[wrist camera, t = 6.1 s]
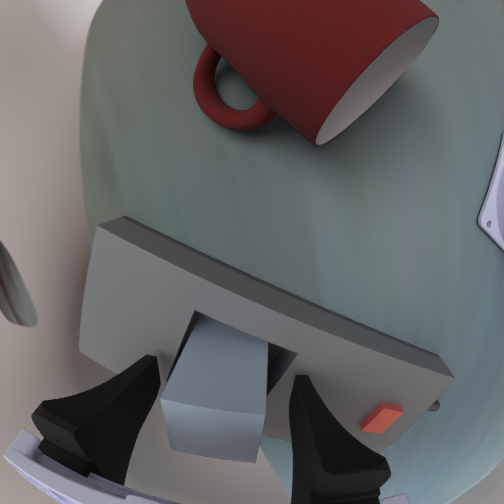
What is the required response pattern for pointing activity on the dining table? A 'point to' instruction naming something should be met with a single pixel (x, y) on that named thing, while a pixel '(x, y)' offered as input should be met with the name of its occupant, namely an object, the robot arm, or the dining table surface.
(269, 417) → the power strip
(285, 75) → the mug
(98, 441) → the robot arm
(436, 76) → the dining table surface
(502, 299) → the dining table surface
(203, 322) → the block
